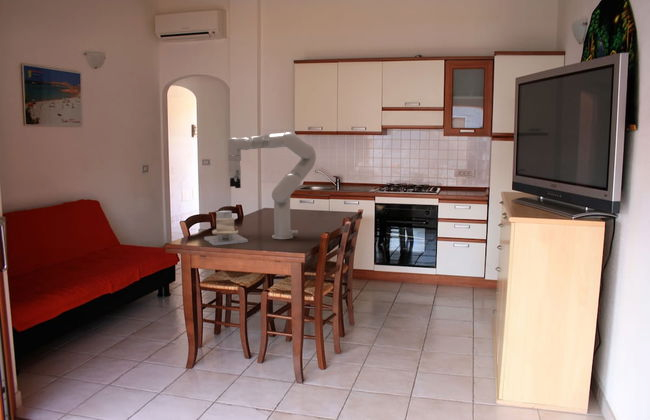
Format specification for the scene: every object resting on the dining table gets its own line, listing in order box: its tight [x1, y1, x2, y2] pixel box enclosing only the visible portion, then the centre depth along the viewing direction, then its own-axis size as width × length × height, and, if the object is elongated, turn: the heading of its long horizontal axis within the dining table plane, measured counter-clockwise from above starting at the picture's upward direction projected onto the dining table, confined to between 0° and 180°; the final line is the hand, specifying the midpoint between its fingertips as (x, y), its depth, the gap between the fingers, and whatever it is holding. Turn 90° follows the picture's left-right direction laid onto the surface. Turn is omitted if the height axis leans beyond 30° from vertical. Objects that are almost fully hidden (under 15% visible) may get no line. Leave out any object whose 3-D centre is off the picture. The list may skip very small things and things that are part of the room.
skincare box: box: [215, 210, 233, 219], centre depth 344 cm, size 8×6×15 cm
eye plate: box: [203, 233, 249, 246], centre depth 327 cm, size 20×20×2 cm
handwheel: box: [211, 217, 239, 238], centre depth 326 cm, size 15×15×11 cm
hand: (235, 187), depth 333 cm, fingers open, 9 cm apart
